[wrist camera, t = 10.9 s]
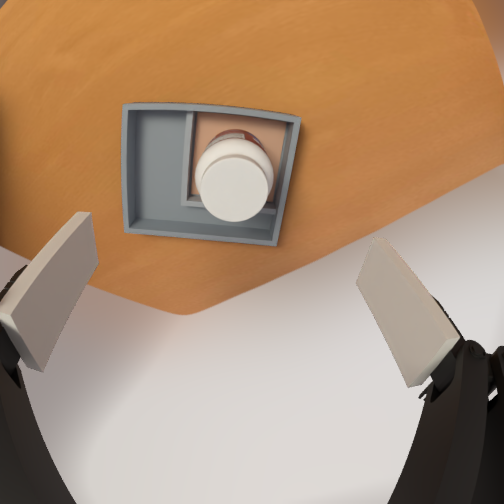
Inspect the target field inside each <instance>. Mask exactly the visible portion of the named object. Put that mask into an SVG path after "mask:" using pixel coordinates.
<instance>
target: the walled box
mask: <svg viewBox="0 0 504 504" xmlns="http://www.w3.org/2000/svg"><path fill="white" fill-rule="evenodd" d="M300 123H301V117H298V116H296V115H291V114H286V113H280V112H273V111H267V110H260V109H252V108H244V107H235V106H225V105H213V104H199V103H176V102H134V103H127V104H123V110H122V132H121V182H122V205H123V221H124V233H134V234H146V235H158V236H169V237H181V238H192V239H203V240H214V241H225V242H236V243H247V244H257V245H268V246H277V241H278V236H279V232H280V227H281V222H282V217H283V212H284V207H285V202H286V197H287V192H288V187H289V182H290V176H291V171H292V166H293V161H294V155H295V150H296V145H297V139H298V134H299V128H300ZM229 129H242V130H245V131H248V132H250V133H251V134H253V135H254V136H255V137H256V138H257V139H258V140H259V141H260V142H261V144H262V146H263V148H264V149H265V151H266V153H267V155H268V157H269V159H270V161H271V164H272V167H273V173H274V179H273V186H272V189H271V191H270V193H269V195H268V197H267V200H266V203H265V204H264V206H263V208H262V209H261V210H260V211H259V212H258V213H257V214H256V215H255V216H253V217H251V218H249V219H247V220H244V221H240V222H229V221H224V220H221V219H219V218H217V217H215V216H213V215H212V214H211V213H210V212H209V211H208V210H207V209H206V207H205V206H204V204H203V202H202V199H201V196H200V194H199V192H198V190H197V187H196V182H195V171H196V167H197V164H198V161H199V159H200V157H201V156H202V154H203V152H204V150H205V149H206V147H207V145H208V144H209V142H210V141H211V140H212V139H213V138H214V137H215V136H216V135H217V134H219V133H221V132H222V131H225V130H229Z"/></svg>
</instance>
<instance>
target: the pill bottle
mask: <svg viewBox="0 0 504 504" xmlns="http://www.w3.org/2000/svg"><path fill="white" fill-rule="evenodd" d="M273 179H274V173H273V167H272V164H271V161H270V159H269V157H268V155H267V153H266V151H265V149H264V148H263V146H262V144H261V142H260V141H259V140H258V139H257V138H256V137H255V136H254V135H253V134H251V133H250V132H248V131H245V130H242V129H229V130H225V131H222V132H221V133H219V134H217V135H216V136H215V137H214V138H213V139H212V140H211V141H210V142H209V144H208V145H207V147H206V149H205V150H204V152H203V154H202V156H201V157H200V159H199V161H198V164H197V167H196V171H195V182H196V187H197V190H198V192H199V194H200V196H201V199H202V202H203V204H204V206H205V207H206V209H207V210H208V211H209V212H210V213H211V214H212V215H213V216H215V217H217V218H219V219H221V220H224V221H229V222H240V221H244V220H247V219H249V218H251V217H253V216H255V215H256V214H257V213H258V212H259V211H260V210H261V209H262V208H263V206H264V204H265V203H266V200H267V197H268V195H269V193H270V191H271V189H272V186H273Z"/></svg>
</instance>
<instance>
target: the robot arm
mask: <svg viewBox="0 0 504 504" xmlns="http://www.w3.org/2000/svg"><path fill="white" fill-rule="evenodd" d="M98 264H99V261H98V256H97V250H96V243H95V237H94V230H93V222H92V214H91V212H77V213H76V214H75V215H74V216H73V217H72V218H71V219H70V220H69V221H68V222H67V223H66V224H65V225H64V226H63V227H62V228H61V229H60V230H59V231H58V232H57V233H56V234H55V235H54V236H53V237H52V239H51V240H50V241H49V242H48V243H47V244H46V245H45V246H44V247H43V249H42V250H41V251H40V252H39V253H38V254H37V255H36V257H35V258H34V259H33V260H32V261H31V263H30V264H29V265H25V266H24V267H23V268H21V269H20V270H18V271H17V272H16V273H15V274H14V276H13V277H12V278H11V280H10V282H8V283H7V285H6V286H5V287H4V288H5V289H3V290H2V291H1V292H0V504H76V502H75V501H74V499H73V497H72V496H71V494H70V492H69V491H68V489H67V487H66V485H65V483H64V482H63V480H62V478H61V476H60V474H59V472H58V470H57V468H56V466H55V464H54V462H53V460H52V458H51V456H50V453H49V451H48V449H47V447H46V444H45V442H44V440H43V438H42V435H41V432H40V430H39V427H38V425H37V422H36V419H35V416H34V414H33V410H32V407H31V404H30V401H29V398H28V395H27V392H26V388H25V384H24V381H23V377H22V374H21V370H20V368H19V366H18V364H17V363H18V361H19V359H20V357H21V358H22V360H23V362H24V363H25V364H26V366H27V367H28V368H31V369H34V370H37V371H40V372H43V371H44V369H45V366H46V364H47V362H48V360H49V357H50V355H51V353H52V351H53V348H54V346H55V344H56V342H57V340H58V338H59V335H60V334H61V331H62V329H63V327H64V325H65V323H66V321H67V320H68V318H69V315H70V314H71V312H72V310H73V308H74V306H75V304H76V302H77V301H78V299H79V297H80V295H81V293H82V291H83V290H84V288H85V286H86V284H87V283H88V281H89V279H90V278H91V276H92V274H93V272H94V271H95V269H96V267H97V266H98ZM356 284H357V286H358V287H359V290H360V291H361V293H362V295H363V297H364V299H365V301H366V303H367V305H368V306H369V308H370V310H371V312H372V314H373V316H374V318H375V320H376V322H377V324H378V326H379V328H380V330H381V332H382V334H383V336H384V338H385V340H386V342H387V344H388V346H389V348H390V350H391V352H392V354H393V356H394V358H395V361H396V363H397V365H398V367H399V369H400V371H401V374H402V376H403V378H404V380H405V382H406V385H407V387H408V388H409V387H413V386H418V385H422V384H423V382H424V381H425V380H426V379H427V378H428V377H429V376H431V378H432V380H433V381H432V382H431V383H430V384H429V385H428V387H427V388H426V389H425V390H424V391H423V392H422V393H421V394H420V396H419V399H421V397H423V396H424V394H427V395H426V398H425V399H424V401H425V403H424V407H423V411H422V414H421V418H420V421H419V424H418V428H417V431H416V434H415V437H414V440H413V443H412V446H411V449H410V452H409V455H408V458H407V460H406V462H405V465H404V468H403V470H402V473H401V475H400V477H399V480H398V482H397V484H396V487H395V489H394V491H393V493H392V495H391V498H390V500H389V502H388V504H504V346H499V347H498V348H497V349H496V351H495V352H494V353H493V354H488V353H486V352H485V350H484V348H483V347H482V346H481V345H480V344H479V343H477V342H476V341H473V340H467V341H465V339H464V338H463V336H462V335H461V333H460V331H459V330H458V329H457V327H456V326H455V324H454V323H453V321H452V320H451V318H449V316H448V314H447V313H446V311H444V309H443V307H442V306H441V304H440V303H439V302H438V301H437V300H436V299H435V298H434V297H433V296H432V295H431V294H430V293H429V292H428V290H427V289H426V288H425V286H424V285H423V284H422V282H421V281H420V280H419V279H418V277H417V276H416V275H415V274H414V272H413V271H412V270H411V268H410V267H409V266H408V265H407V263H406V262H405V261H404V260H403V259H402V257H400V255H399V254H398V253H397V252H396V250H395V249H394V248H393V247H392V245H391V244H390V243H389V242H388V241H387V240H386V239H382V238H373V240H372V243H371V245H370V248H369V251H368V254H367V256H366V259H365V261H364V264H363V266H362V269H361V272H360V274H359V276H358V279H357V282H356ZM496 388H497V392H498V394H497V395H496V396H495V397H494V398H493V399H492V400H490V401H489V399H488V396H489V395H490V394H491V393H492V392H493V391H494V390H495V389H496Z"/></svg>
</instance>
